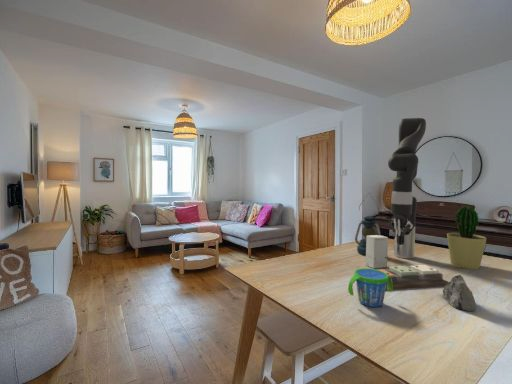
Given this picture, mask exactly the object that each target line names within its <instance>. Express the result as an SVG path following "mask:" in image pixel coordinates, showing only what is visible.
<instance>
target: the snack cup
mask: <svg viewBox="0 0 512 384" xmlns="http://www.w3.org/2000/svg"><path fill="white" fill-rule="evenodd" d="M375 269H376V268H374V269H373V268H358V269H356V270H355V271H354V272H353V273H354V274H353V276H352V277H351V278H350V280H349V283H348V288H347V290H348V293H349V295H350V296H354V288H353V287H354V286H353V284H354V283H355V282H356V292H357V298H358V301H359V302H360V304H362V305H364V306H367V307H371V308H379V307H382V306H383V303H384V300H385V294H386V284H387V291H388V292H389V293H391V292H393V290H394V289H393V283H392V279H391V277H390V276H388V275H387V274H386V273H384V272H382V271H379V270H375Z"/></svg>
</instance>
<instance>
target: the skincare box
mask: <svg viewBox="0 0 512 384" xmlns="http://www.w3.org/2000/svg"><path fill="white" fill-rule="evenodd" d="M388 246H389V237H388V236H384V235H377V234H376V235H369V236H366V256H365V266H367V267H370V269H384V268H387V267H388V249H389V247H388Z"/></svg>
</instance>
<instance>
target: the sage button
mask: <svg viewBox="0 0 512 384" xmlns="http://www.w3.org/2000/svg"><path fill="white" fill-rule="evenodd" d="M388 269H389V270H391V271H393V272H395V273H397V274H399V275H401V276H404V275H417V271H414V270H412V269H410V267H407V266H405V265H399V266H398V265H397V266H389V268H388Z"/></svg>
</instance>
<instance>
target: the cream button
mask: <svg viewBox="0 0 512 384" xmlns="http://www.w3.org/2000/svg"><path fill="white" fill-rule="evenodd" d="M409 268H410V269H412V270H414V271H417V272H419V273H421V274H438V272H439V270H438V269H436V268H432V267H431V266H428V265H427V264H420V265H419V264H418V265H410V266H409Z"/></svg>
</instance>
